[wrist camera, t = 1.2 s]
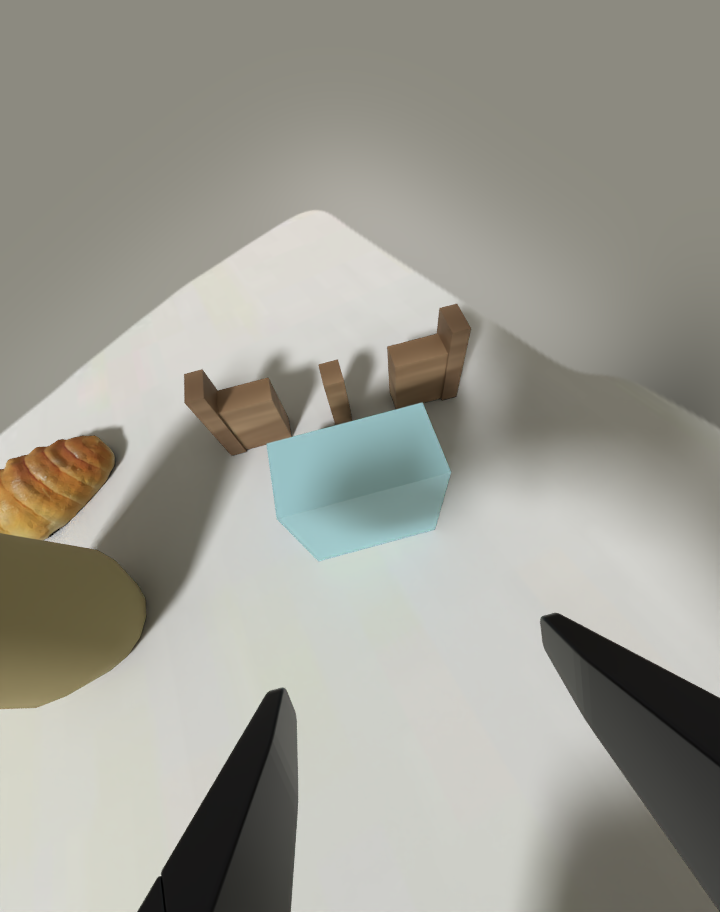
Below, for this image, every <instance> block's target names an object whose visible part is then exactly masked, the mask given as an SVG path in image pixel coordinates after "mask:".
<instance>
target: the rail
mask: <svg viewBox="0 0 720 912" xmlns="http://www.w3.org/2000/svg"><path fill="white" fill-rule="evenodd" d="M470 331H471V328H470V326H469V324H468V322H467V320H466V319H465V317H464V315H463V313H462V312H461V310H460V308H459V306H458V305H457V304H454V305H450V306H446V307H442V308H440V309H439V318H438V327H437V334H434V335H430V336H427V337H423V338H419V339H415V340H411V341H407V342H403V343H400V344H396V345H392V346H388V347H387V351H388V371H389V391H390V394H391V397H392V399H393V402H394V405H395V408H396V409H400V408H403V407H407V406H411V405H415V404H419V403H425V402H429V401H433V400H437V399H441V400H445V399H449V398H452V397H456V395H457V391H458V386H459V382H460V377H461V372H462V368H463V363H464V358H465V354H466V349H467V345H468V340H469V335H470ZM319 369H320V373H321V377H322V381H323V385H324V389H325V392H326V395H327V399H328V402H329V405H330V408H331V412H332V415H333V418H334V422H335V425H339V424H343V423H347V422H350V421H353V420H352V416H351V411H350V406H349V402H348V397H347V393H346V388H345V384H344V380H343V376H342V373H341V369H340V366H339V362H338V360H334V361H330V362H326V363H323V364H319ZM184 396H185V404H186V405H187V406H188V407H189V408H190V410H191V411H192V412H193V413H194V414H195V415H196V416H197V417H198V418H199V420H200V421H201V422H202V423H203V424H204V425H205V426H206V427H207V429H208V430H209V431H210V432H211V433H212V434H213V435H214V436H215V437H216V439H217V440H218V441H219V442H220V443H221V444H222V445H223V446H224V448H225V449H226V450H227V451H228V452H229V453H230V454H231V455H232V456H233V455H237V454H240V453H244V452H247V449H251V448H255V447H259V446H262V445H266V444H267V443H271V442H275V441H278V440H282V439H286V438H290V437H292V436H291V430H290V424H289V419H288V416H287V414H286V412H285V410H284V408H283V406H282V404H281V402H280V400H279V398H278V396H277V394H276V392H275V390H274V388H273V386H272V384H271V382H270V380H269V378H265V379H261V380H257V381H253V382H249V383H246V384H242V385H238V386H234V387H230V388H226V389H222V390H219V391H218V390H217V389H216V388H215V386H214V385H213V383H212V382H211V381H210V379H209V378H208V376H207V375H206V374H205V372H204V371H203V370H198V371H194V372H191V373H187V374H184Z"/></svg>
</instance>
